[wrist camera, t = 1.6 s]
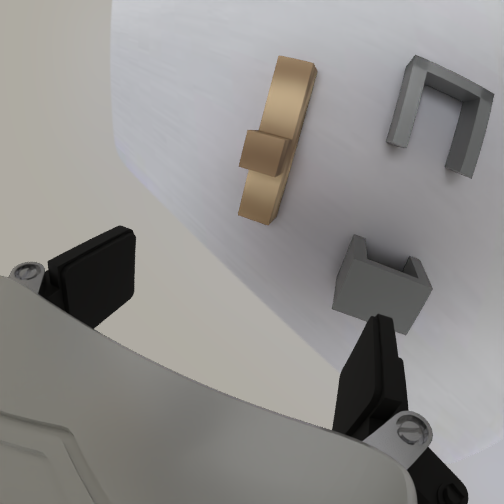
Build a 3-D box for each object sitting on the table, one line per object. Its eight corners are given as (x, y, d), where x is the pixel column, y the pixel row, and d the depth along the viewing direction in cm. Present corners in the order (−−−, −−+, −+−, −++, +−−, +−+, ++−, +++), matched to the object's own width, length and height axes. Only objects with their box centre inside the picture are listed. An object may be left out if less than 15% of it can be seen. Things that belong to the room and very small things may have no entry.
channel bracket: (354, 234, 29) (353, 258, 24) (419, 260, 28) (432, 288, 22) (336, 277, 31) (331, 308, 26) (399, 300, 30) (405, 335, 24)
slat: (287, 63, 25) (269, 46, 19) (317, 71, 25) (308, 54, 19) (249, 206, 32) (225, 224, 26) (277, 215, 31) (258, 235, 25)
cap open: (406, 66, 22) (415, 54, 18) (475, 98, 20) (494, 94, 16) (386, 141, 25) (392, 142, 21) (455, 171, 24) (471, 178, 20)
